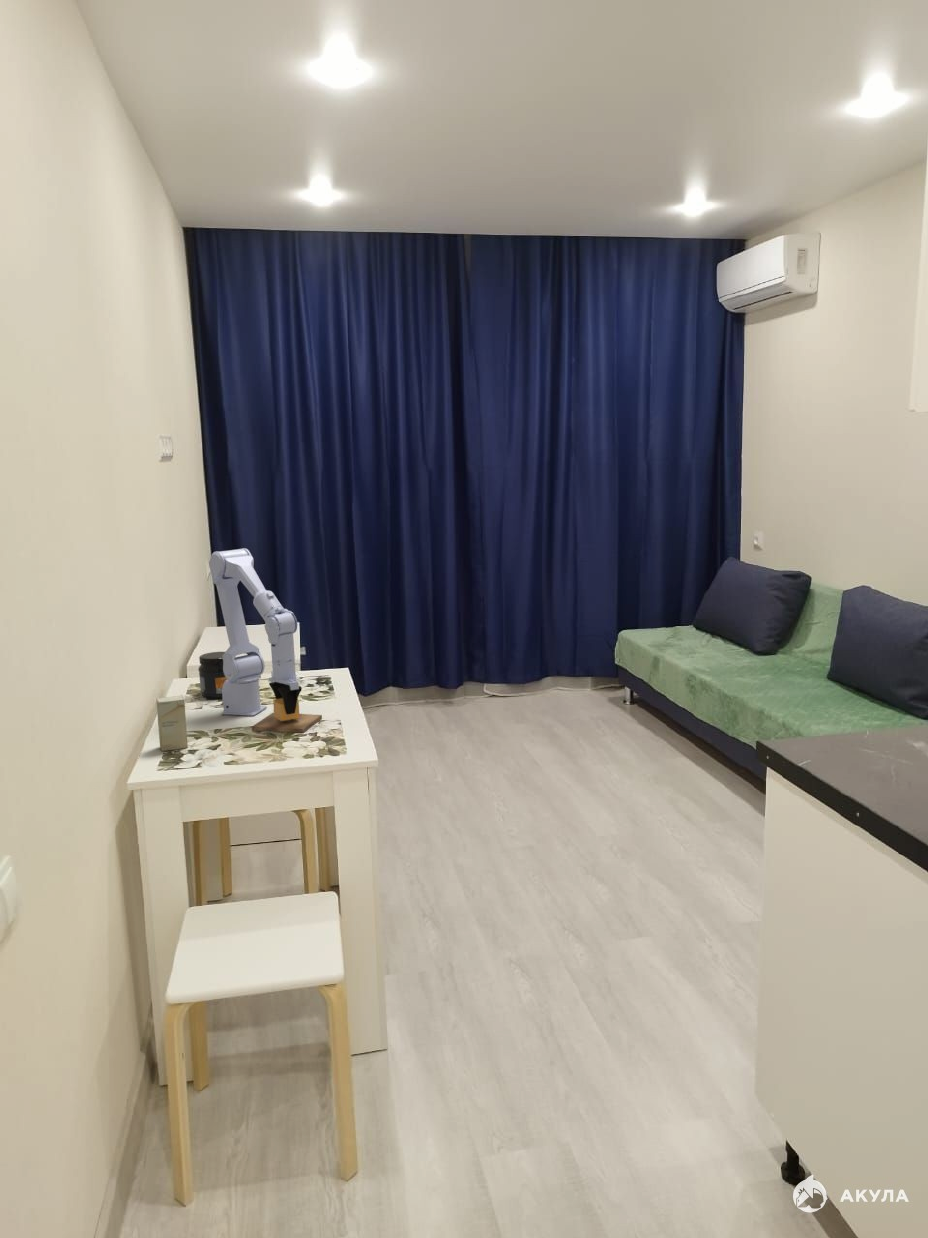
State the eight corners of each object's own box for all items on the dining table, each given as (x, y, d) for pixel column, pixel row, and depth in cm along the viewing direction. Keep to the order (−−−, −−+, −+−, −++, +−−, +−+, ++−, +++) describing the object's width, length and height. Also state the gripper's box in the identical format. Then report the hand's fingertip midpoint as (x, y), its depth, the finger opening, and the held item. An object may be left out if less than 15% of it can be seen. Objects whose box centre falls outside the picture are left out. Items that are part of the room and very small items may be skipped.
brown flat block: (252, 730, 227) (251, 715, 226) (273, 716, 239) (271, 701, 238) (303, 732, 224) (302, 717, 223) (322, 718, 235) (321, 704, 235)
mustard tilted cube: (281, 721, 227) (279, 704, 227) (274, 716, 232) (273, 699, 231) (299, 717, 230) (298, 700, 229) (292, 713, 234) (291, 696, 233)
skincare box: (161, 752, 213) (156, 702, 210) (159, 746, 217) (155, 698, 214) (189, 747, 215) (184, 699, 213) (186, 742, 219) (182, 694, 217)
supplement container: (243, 695, 259) (240, 655, 257) (207, 702, 253) (204, 661, 251) (230, 688, 268) (227, 649, 266) (195, 694, 262) (192, 654, 260)
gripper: (258, 656, 232) (262, 707, 235) (278, 667, 220) (281, 720, 222) (284, 652, 236) (288, 702, 238) (305, 663, 223) (308, 715, 226)
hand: (286, 710), depth 231 cm, fingers closed on mustard tilted cube, 5 cm apart
